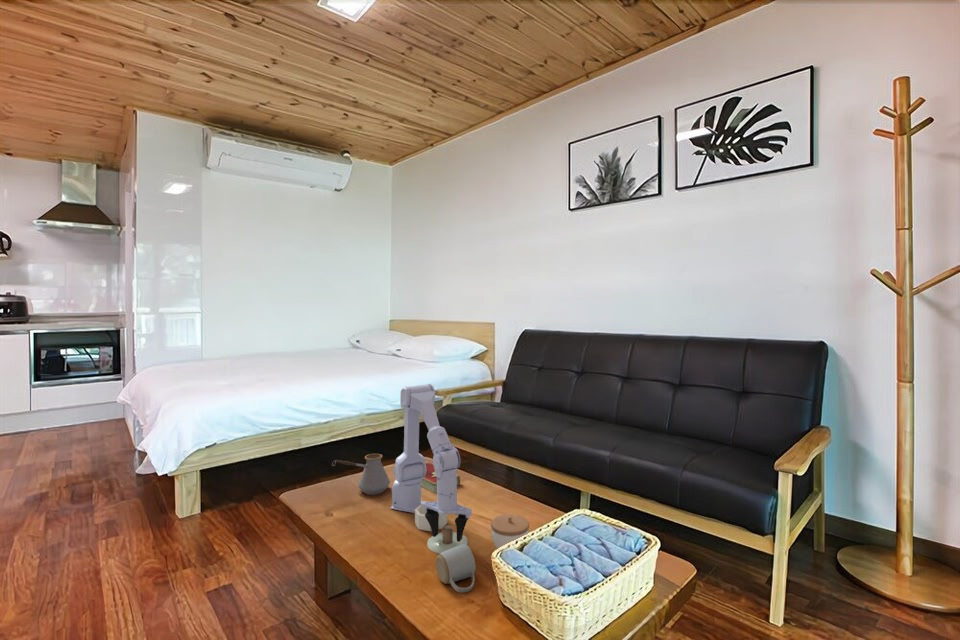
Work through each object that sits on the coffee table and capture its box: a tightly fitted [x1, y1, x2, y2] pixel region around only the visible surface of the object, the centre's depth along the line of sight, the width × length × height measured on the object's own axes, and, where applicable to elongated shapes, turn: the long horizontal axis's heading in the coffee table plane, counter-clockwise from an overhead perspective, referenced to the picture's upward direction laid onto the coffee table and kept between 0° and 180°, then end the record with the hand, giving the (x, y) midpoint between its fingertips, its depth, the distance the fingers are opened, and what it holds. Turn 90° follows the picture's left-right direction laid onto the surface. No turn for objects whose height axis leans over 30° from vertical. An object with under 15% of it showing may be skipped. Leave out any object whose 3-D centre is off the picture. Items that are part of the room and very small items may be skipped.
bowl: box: [414, 504, 448, 532], centre depth 147 cm, size 9×9×4 cm
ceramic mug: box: [435, 543, 477, 594], centre depth 116 cm, size 11×8×8 cm
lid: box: [426, 525, 469, 555], centre depth 135 cm, size 12×12×5 cm
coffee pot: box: [331, 453, 391, 496], centre depth 169 cm, size 21×12×15 cm, turn 130°
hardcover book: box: [421, 461, 461, 494], centre depth 181 cm, size 12×21×4 cm, turn 42°
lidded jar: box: [490, 513, 530, 549], centre depth 131 cm, size 11×11×9 cm
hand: (447, 537), depth 135 cm, fingers open, 7 cm apart
